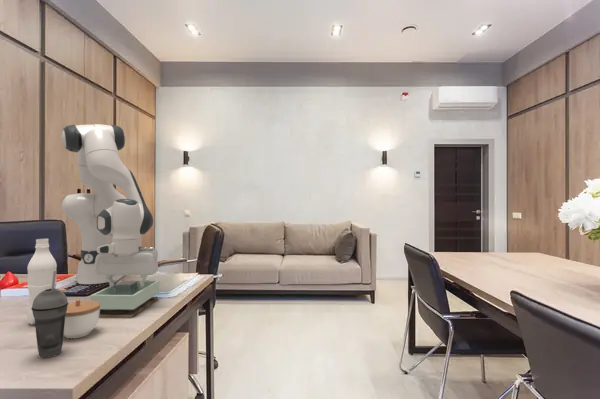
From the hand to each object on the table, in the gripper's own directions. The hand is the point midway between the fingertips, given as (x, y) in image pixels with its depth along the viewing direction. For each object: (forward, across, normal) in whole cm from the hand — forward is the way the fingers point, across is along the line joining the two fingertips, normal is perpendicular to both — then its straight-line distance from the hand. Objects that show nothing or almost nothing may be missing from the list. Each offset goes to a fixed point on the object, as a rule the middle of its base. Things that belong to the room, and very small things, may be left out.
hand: (126, 287), depth 120 cm
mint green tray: (+5, 0, 0) cm, 5 cm away
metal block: (+3, 0, 0) cm, 3 cm away
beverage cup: (+7, +1, +35) cm, 36 cm away
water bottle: (+7, +18, +14) cm, 24 cm away
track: (+7, +4, 0) cm, 8 cm away
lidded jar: (+7, +2, +23) cm, 24 cm away
